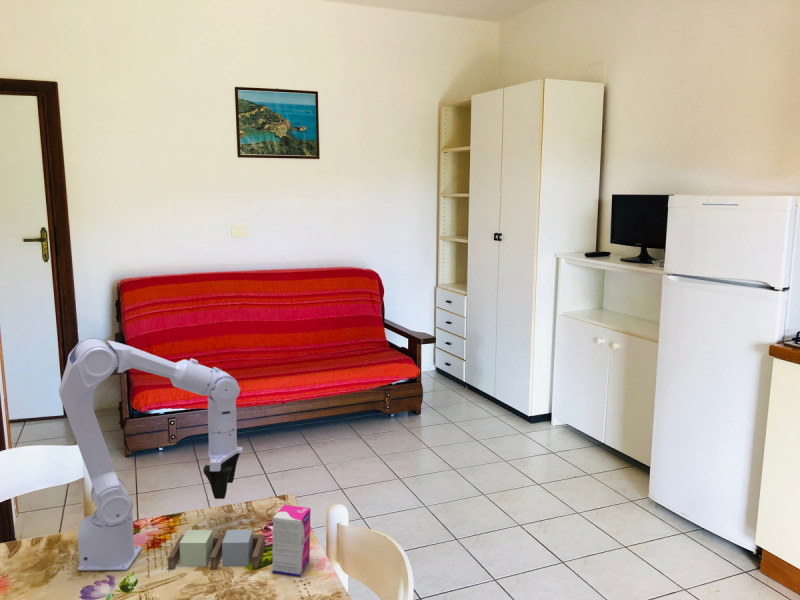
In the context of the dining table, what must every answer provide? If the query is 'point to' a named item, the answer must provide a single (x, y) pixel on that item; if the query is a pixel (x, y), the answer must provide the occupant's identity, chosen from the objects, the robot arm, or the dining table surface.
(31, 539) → the dining table surface
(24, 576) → the dining table surface
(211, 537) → the sage block
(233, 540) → the slate block
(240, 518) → the dining table surface
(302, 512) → the supplement box
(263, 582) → the dining table surface
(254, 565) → the comb rack
